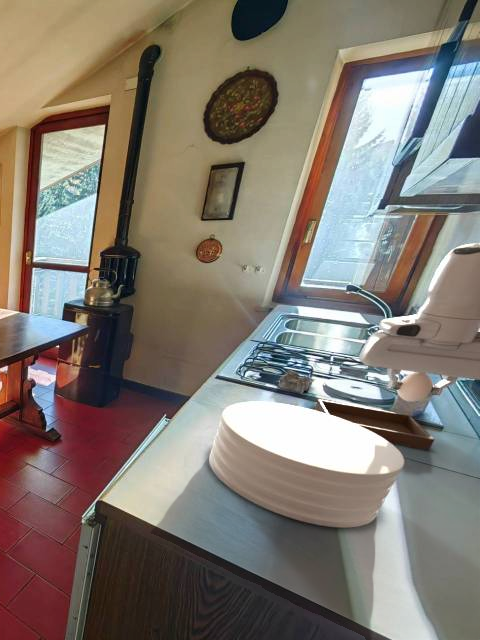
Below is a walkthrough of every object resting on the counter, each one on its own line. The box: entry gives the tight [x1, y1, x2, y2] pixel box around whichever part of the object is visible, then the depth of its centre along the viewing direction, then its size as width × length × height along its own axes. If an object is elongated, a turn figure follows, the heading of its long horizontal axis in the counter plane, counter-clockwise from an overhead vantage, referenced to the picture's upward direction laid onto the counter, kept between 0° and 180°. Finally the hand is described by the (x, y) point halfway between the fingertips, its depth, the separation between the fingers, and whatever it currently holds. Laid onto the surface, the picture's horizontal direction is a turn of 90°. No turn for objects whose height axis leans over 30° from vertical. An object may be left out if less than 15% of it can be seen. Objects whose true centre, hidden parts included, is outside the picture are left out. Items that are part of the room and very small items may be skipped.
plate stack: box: [208, 401, 405, 529], centre depth 80 cm, size 28×28×12 cm
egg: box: [396, 372, 433, 402], centre depth 83 cm, size 5×5×7 cm
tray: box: [314, 398, 435, 451], centre depth 102 cm, size 19×14×3 cm
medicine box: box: [390, 383, 435, 418], centre depth 110 cm, size 8×4×9 cm, turn 114°
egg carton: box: [277, 369, 316, 393], centre depth 127 cm, size 11×8×4 cm
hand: (412, 391), depth 84 cm, fingers closed on egg, 5 cm apart
